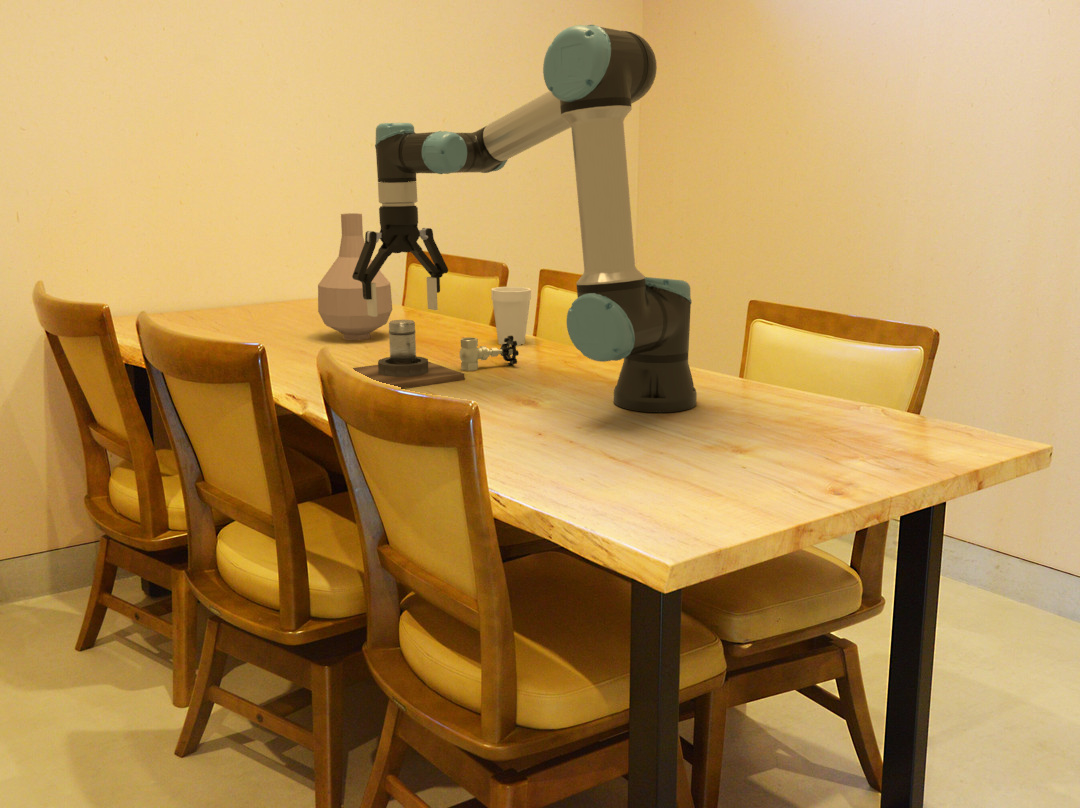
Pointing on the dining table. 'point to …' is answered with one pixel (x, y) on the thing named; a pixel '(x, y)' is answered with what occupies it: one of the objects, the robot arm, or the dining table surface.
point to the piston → (402, 342)
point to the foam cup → (511, 312)
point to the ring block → (410, 373)
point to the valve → (485, 352)
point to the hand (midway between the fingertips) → (403, 312)
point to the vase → (351, 288)
